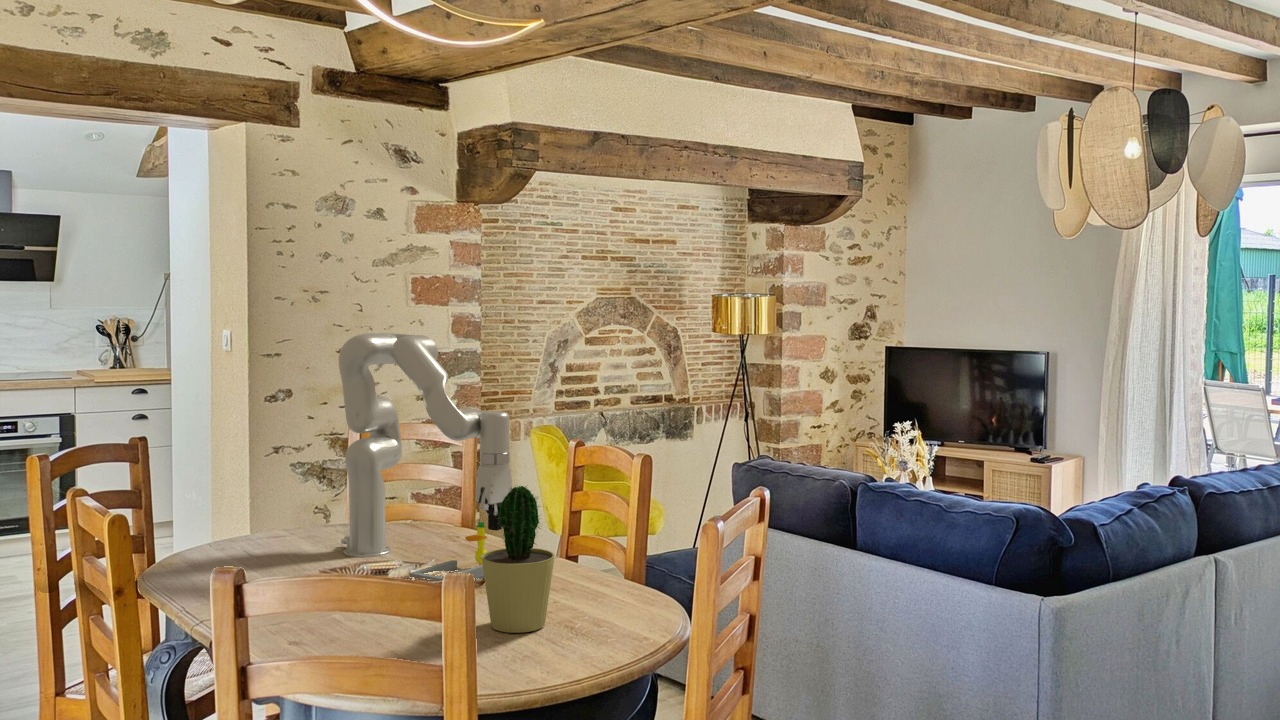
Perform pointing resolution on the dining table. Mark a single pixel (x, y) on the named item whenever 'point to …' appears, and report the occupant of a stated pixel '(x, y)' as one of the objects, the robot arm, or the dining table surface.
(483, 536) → the toy figure
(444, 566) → the u rest
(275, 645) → the dining table surface
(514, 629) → the potted cactus
